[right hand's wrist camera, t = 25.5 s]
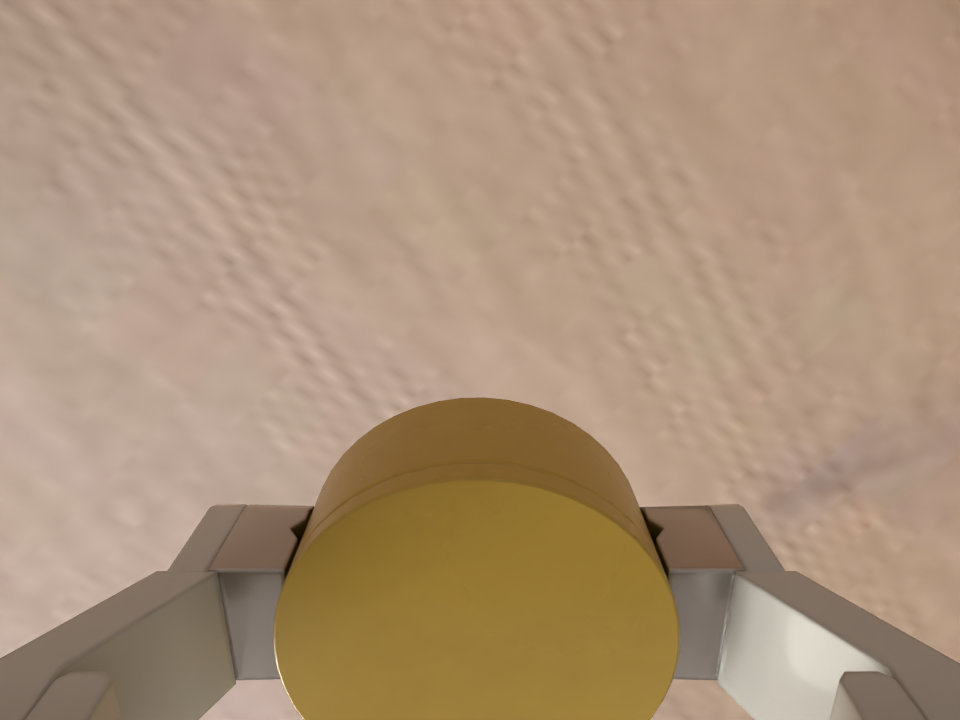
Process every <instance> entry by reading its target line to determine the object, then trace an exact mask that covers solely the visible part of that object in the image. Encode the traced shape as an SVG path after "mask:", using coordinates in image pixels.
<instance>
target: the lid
mask: <svg viewBox="0 0 960 720" xmlns="http://www.w3.org/2000/svg"><path fill="white" fill-rule="evenodd" d="M679 646H680V623H679V614H678V610H677V606H676V601H675V597H674V594H673V591H672V589H671V586H670V584H669V581H668V579H667V576H666V574H665V571H664V569H663V566H662V563H661V561H660V558H659V556H658V553H657V551H656V548H655V546H654V543H653V541H652V538H651V536H650V533H649V530H648V528H647V525H646V523H645V520H644V518H643V515H642V513H641V510H640V508H639V505H638V503H637V500H636V498H635V495H634V493H633V490H632V488H631V485H630V483H629V481H628V479H627V478H626V476H625V474H624V473H623V471H622V469H621V468H620V466H619V465H618V463H617V462H616V461H615V460H614V459H613V457H612V456H611V455H610V454H609V453H608V451H607V450H606V449H605V448H604V447H603V446H602V445H601V444H599V443H598V442H597V441H596V440H595V439H594V438H593V437H592V436H591V435H589V434H588V433H586V432H585V431H583V430H582V429H580V428H579V427H578V426H576V425H575V424H573V423H571V422H570V421H568V420H566V419H564V418H562V417H560V416H558V415H556V414H554V413H552V412H549V411H546V410H543V409H540V408H537V407H535V406H532V405H528V404H524V403H519V402H515V401H510V400H504V399H493V398H459V399H452V400H444V401H438V402H434V403H430V404H427V405H423V406H419V407H416V408H413V409H411V410H408V411H406V412H403V413H401V414H398V415H396V416H394V417H392V418H390V419H388V420H387V421H385V422H383V423H381V424H380V425H378V426H376V427H374V428H373V429H372V430H371V431H369V432H368V433H367V434H365V435H364V436H363V437H361V438H360V439H359V440H357V441H356V442H355V443H354V444H353V445H352V446H351V447H350V448H349V449H348V450H347V451H346V452H345V453H344V454H343V456H342V457H341V458H340V460H339V461H338V462H337V464H336V465H335V466H334V468H333V469H332V470H331V472H330V474H329V476H328V478H327V480H326V482H325V483H324V485H323V487H322V489H321V492H320V494H319V497H318V499H317V502H316V504H315V507H314V509H313V512H312V514H311V517H310V519H309V522H308V524H307V527H306V529H305V532H304V534H303V537H302V539H301V542H300V544H299V547H298V549H297V552H296V554H295V557H294V559H293V562H292V564H291V567H290V569H289V572H288V574H287V577H286V579H285V582H284V584H283V587H282V590H281V593H280V596H279V599H278V602H277V605H276V611H275V617H274V623H273V647H274V653H275V659H276V665H277V669H278V672H279V675H280V678H281V681H282V684H283V687H284V689H285V691H286V693H287V695H288V697H289V699H290V701H291V702H292V704H293V706H294V708H295V709H296V710H297V712H298V713H299V715H300V716H301V717H302V719H303V720H650V719H651V718H652V717H653V715H654V714H655V712H656V711H657V709H658V707H659V706H660V704H661V703H662V701H663V700H664V698H665V695H666V693H667V691H668V689H669V687H670V684H671V682H672V680H673V676H674V673H675V669H676V665H677V662H678V656H679Z"/></svg>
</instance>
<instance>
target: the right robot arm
mask: <svg viewBox="0 0 960 720" xmlns="http://www.w3.org/2000/svg"><path fill="white" fill-rule="evenodd" d="M639 508H640V510H641V513H642V515H643V518H644V520H645V523H646V525H647V528H648V530H649V533H650V536H651V538H652V541H653V543H654V546H655V548H656V551H657V553H658V556H659V558H660V561H661V563H662V566H663V569H664V571H665V574H666V576H667V579H668V581H669V584H670V586H671V589H672V591H673V594H674V597H675V601H676V606H677V610H678V614H679V623H680V646H679V656H678V662H677V665H676V669H675V673H674V676H673V679H692V680H718V682H717V683H718V684H719V685H720V686H721V687H722V688H723V689H724V690H725V691H726V692H727V693H728V694H729V695H730V696H731V697H732V698H733V699H734V700H735V701H736V702H737V703H738V704H739V705H740V706H741V707H743V708H744V709H745V710H746V711H747V712H748V713H749V714H750V715H751V716H752V717H753V718H754V719H755V720H960V664H959V663H958V662H956V661H954V660H952V659H951V658H949V657H947V656H945V655H944V654H942V653H940V652H938V651H936V650H935V649H933V648H931V647H929V646H928V645H926V644H924V643H922V642H920V641H919V640H917V639H915V638H913V637H912V636H910V635H908V634H906V633H905V632H903V631H901V630H899V629H897V628H896V627H894V626H892V625H890V624H889V623H887V622H885V621H883V620H881V619H880V618H878V617H876V616H874V615H873V614H871V613H869V612H867V611H866V610H864V609H862V608H860V607H858V606H857V605H855V604H853V603H851V602H850V601H848V600H846V599H844V598H843V597H841V596H839V595H837V594H835V593H834V592H832V591H830V590H828V589H827V588H825V587H823V586H821V585H819V584H818V583H816V582H814V581H812V580H811V579H809V578H807V577H805V576H804V575H802V574H800V573H798V572H796V571H785V569H784V568H783V566H782V565H781V563H780V562H779V560H778V559H777V557H776V556H775V554H774V553H773V551H772V550H771V548H770V547H769V545H768V544H767V542H766V541H765V539H764V538H763V536H762V535H761V533H760V532H759V530H758V529H757V527H756V526H755V524H754V522H753V521H752V519H751V518H750V516H749V515H748V513H747V512H746V510H745V509H744V507H742V506H740V505H738V504H727V505H705V506H668V507H639ZM313 509H314V506H285V505H249V506H248V505H246V504H242V505H215V506H212V507H210V508H209V510H208V511H207V513H206V514H205V516H204V517H203V519H202V520H201V522H200V523H199V524H198V526H197V527H196V529H195V530H194V532H193V533H192V535H191V536H190V538H189V539H188V541H187V542H186V544H185V545H184V547H183V548H182V550H181V551H180V553H179V554H178V556H177V557H176V559H175V560H174V562H173V563H172V565H171V566H170V568H169V569H168V571H157V572H155V573H153V574H151V575H149V576H148V577H146V578H144V579H142V580H140V581H139V582H137V583H135V584H133V585H131V586H130V587H128V588H126V589H124V590H122V591H121V592H119V593H117V594H115V595H113V596H112V597H110V598H108V599H106V600H105V601H103V602H101V603H99V604H97V605H96V606H94V607H92V608H90V609H88V610H87V611H85V612H83V613H81V614H79V615H78V616H76V617H74V618H72V619H70V620H69V621H67V622H65V623H63V624H61V625H60V626H58V627H56V628H54V629H52V630H51V631H49V632H47V633H45V634H43V635H42V636H40V637H38V638H36V639H35V640H33V641H31V642H29V643H27V644H26V645H24V646H22V647H20V648H18V649H17V650H15V651H13V652H11V653H9V654H8V655H6V656H4V657H2V658H0V720H199V719H200V718H201V717H202V716H203V715H204V714H205V713H206V712H207V711H208V710H209V709H210V708H211V707H212V706H213V705H214V704H215V703H216V702H217V701H218V700H219V699H220V698H222V697H223V696H224V695H225V694H226V693H227V692H228V691H229V690H230V689H231V688H232V687H233V686H234V685H235V684H236V680H260V679H281V678H280V675H279V672H278V669H277V665H276V659H275V653H274V647H273V623H274V617H275V611H276V605H277V602H278V599H279V596H280V593H281V590H282V587H283V584H284V582H285V579H286V577H287V574H288V572H289V569H290V567H291V564H292V562H293V559H294V557H295V554H296V552H297V549H298V547H299V544H300V542H301V539H302V537H303V534H304V532H305V529H306V527H307V524H308V522H309V519H310V517H311V514H312V512H313Z"/></svg>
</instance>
